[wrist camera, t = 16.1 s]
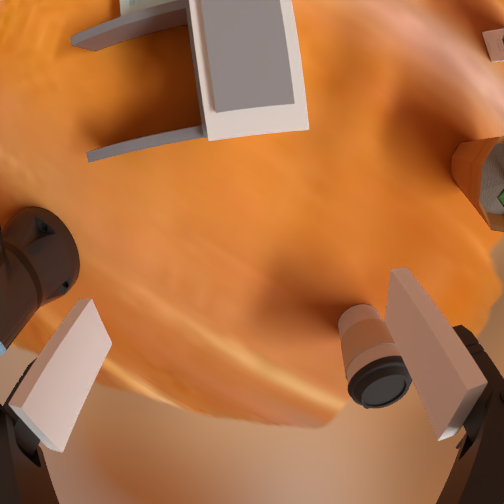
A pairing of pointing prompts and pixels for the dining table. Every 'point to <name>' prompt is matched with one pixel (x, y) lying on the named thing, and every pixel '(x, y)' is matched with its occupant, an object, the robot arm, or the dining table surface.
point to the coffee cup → (371, 358)
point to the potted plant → (482, 177)
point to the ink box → (495, 44)
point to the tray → (138, 5)
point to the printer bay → (222, 67)
